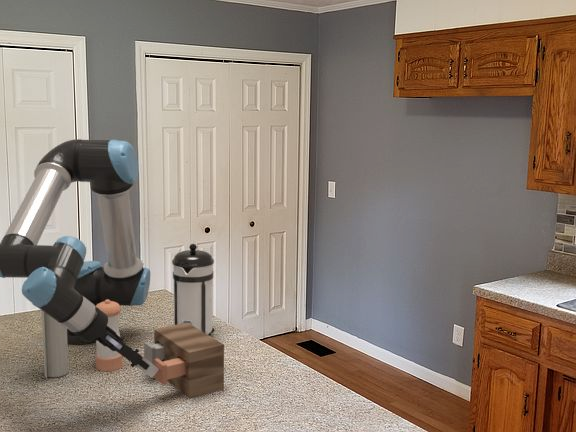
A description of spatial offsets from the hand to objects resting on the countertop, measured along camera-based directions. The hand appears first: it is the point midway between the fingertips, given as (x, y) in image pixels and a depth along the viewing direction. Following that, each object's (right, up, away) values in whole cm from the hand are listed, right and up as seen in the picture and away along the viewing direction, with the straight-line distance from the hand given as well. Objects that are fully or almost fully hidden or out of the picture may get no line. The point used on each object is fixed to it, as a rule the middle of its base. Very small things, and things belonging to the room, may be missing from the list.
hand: (154, 372), depth 154 cm
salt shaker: (-17, -4, +21) cm, 27 cm away
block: (+6, -5, +13) cm, 16 cm away
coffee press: (+3, 0, +46) cm, 46 cm away
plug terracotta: (+6, -2, +5) cm, 9 cm away
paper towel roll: (-30, -4, +15) cm, 34 cm away
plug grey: (+1, 0, +16) cm, 16 cm away
